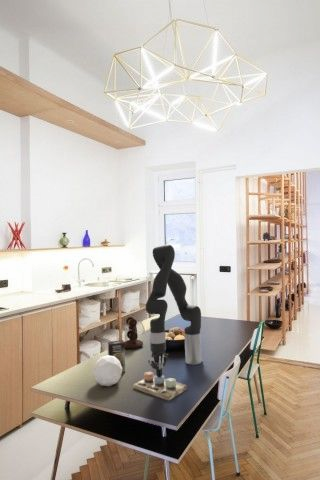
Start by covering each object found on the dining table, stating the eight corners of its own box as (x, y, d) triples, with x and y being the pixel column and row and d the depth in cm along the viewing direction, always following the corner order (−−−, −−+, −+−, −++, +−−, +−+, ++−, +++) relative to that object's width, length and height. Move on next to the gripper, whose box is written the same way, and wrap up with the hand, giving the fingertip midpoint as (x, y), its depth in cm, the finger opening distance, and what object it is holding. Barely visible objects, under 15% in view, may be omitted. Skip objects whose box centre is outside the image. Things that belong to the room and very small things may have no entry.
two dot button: (148, 375, 169) (148, 370, 169) (155, 377, 166) (155, 373, 166) (141, 378, 165) (141, 374, 165) (149, 381, 162) (149, 376, 162)
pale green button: (170, 382, 160) (169, 377, 160) (178, 384, 157) (178, 379, 157) (163, 385, 156) (163, 380, 156) (171, 388, 153) (171, 383, 153)
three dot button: (158, 378, 164) (158, 374, 164) (166, 381, 161) (166, 376, 161) (152, 382, 161) (152, 377, 161) (160, 384, 157) (159, 379, 157)
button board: (152, 378, 173) (152, 373, 173) (186, 389, 159) (186, 383, 159) (133, 388, 163) (133, 382, 163) (168, 400, 148) (168, 394, 148)
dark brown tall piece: (146, 348, 225) (144, 318, 225) (125, 351, 220) (123, 321, 220) (139, 342, 239) (138, 314, 239) (119, 345, 233) (118, 317, 234)
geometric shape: (100, 395, 168) (83, 370, 170) (122, 376, 178) (105, 353, 180) (110, 390, 157) (91, 363, 160) (132, 370, 167) (114, 345, 170)
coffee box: (109, 374, 182) (108, 344, 182) (108, 369, 188) (107, 341, 189) (125, 371, 185) (124, 342, 185) (124, 367, 191) (122, 339, 191)
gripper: (160, 336, 169) (162, 370, 168) (143, 342, 159) (144, 379, 158) (172, 338, 164) (173, 373, 164) (154, 345, 154) (156, 383, 153)
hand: (159, 376), depth 161 cm, fingers closed
